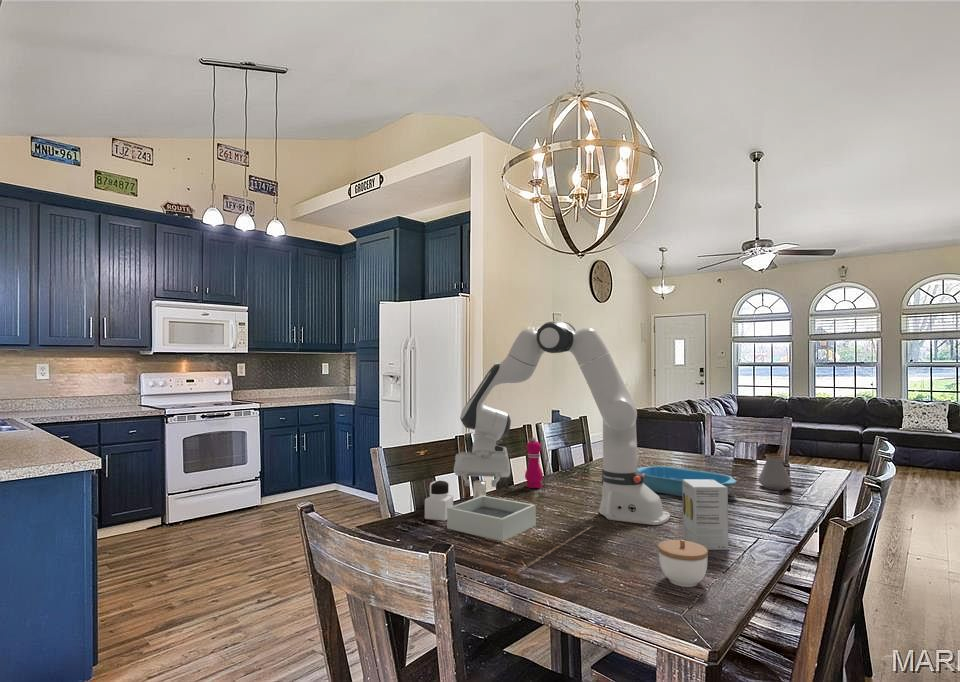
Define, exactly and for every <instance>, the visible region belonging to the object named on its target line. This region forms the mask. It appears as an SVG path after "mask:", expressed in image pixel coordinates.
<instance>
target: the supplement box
mask: <svg viewBox="0 0 960 682" xmlns="http://www.w3.org/2000/svg"><path fill="white" fill-rule="evenodd" d="M682 489H683V497H682V539H683V540H685V541H690V542H694V543H697V544H700V545H702V546H704V547H705V548H706V549H707V550H708V551H711V550H712V551H713V550H714V551H715V550H717V551H728V550H729V518H728V517H729V512H728V511H729V510H728V509H729V506H728V505H729V503H728V500H729V499H728V497H729V494H728V492H729V491H728V488H727V487H725V486H724V485H722V484H720V483H718V482H717V481H715V480H710V479H683V480H682Z"/></svg>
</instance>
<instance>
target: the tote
mask: <svg viewBox="0 0 960 682" xmlns="http://www.w3.org/2000/svg"><path fill="white" fill-rule="evenodd" d="M481 507H489V508H494V509H499V510H504V511H509V512H514V513H512V514H510V515H508V516H506V517H503V518H499V517H494V516H489V515H484V514H480V513H475V512H471V511H473V510H476V509H479V508H481ZM446 525H447V526H446V528H447V529H448V530H451V531H456V532H459V533H460V532H461V533H464V534H468V535H469V534H470V535H473V536H477V537H480V538H481V537H482V538H486V539H489V540H495V541H498V542H506V541H508V540H510V539H511V538H514V537H516V536H518V535H519V534H521V533H523V532H525V531H527V530H529V529H531V528H533V527H536V526H537V504H532V503H526V502H520V501H516V500H511V499H506V498H505V499H504V498H498V497H494V496H493V497H492V496H487V495H486V496H483V495H482V496H480V497H477V498H474V499H473V498H472V499H469V500H466V501H462V502H461V503H457V504H455V505H454V504H453V506H452V507H449V508H447V520H446Z"/></svg>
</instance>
